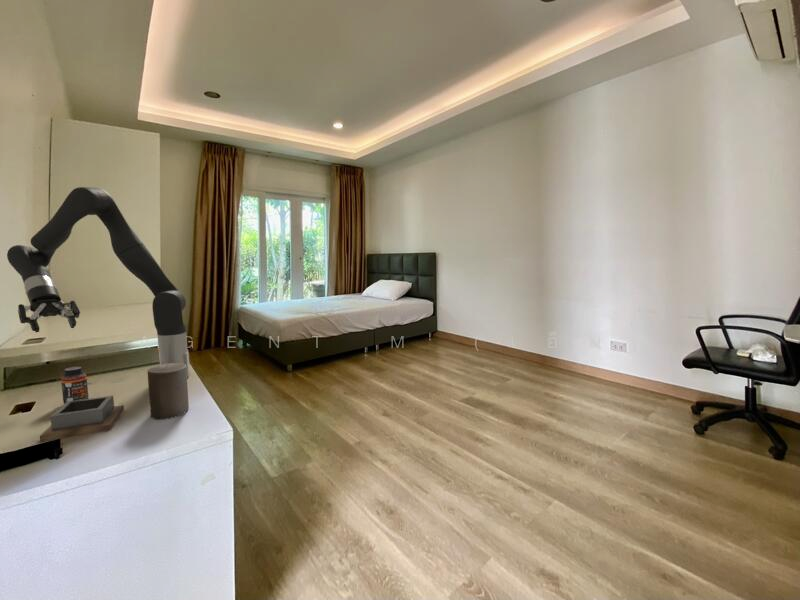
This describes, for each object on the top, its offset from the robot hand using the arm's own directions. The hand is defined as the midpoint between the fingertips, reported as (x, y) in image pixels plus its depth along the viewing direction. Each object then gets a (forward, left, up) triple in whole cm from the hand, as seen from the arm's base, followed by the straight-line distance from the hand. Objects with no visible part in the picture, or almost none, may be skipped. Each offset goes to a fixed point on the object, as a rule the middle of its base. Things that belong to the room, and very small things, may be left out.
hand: (56, 328), depth 116 cm
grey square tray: (-14, +30, -21) cm, 39 cm away
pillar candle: (-34, +31, -23) cm, 51 cm away
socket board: (-14, +30, -23) cm, 40 cm away
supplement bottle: (-6, +10, -23) cm, 26 cm away
